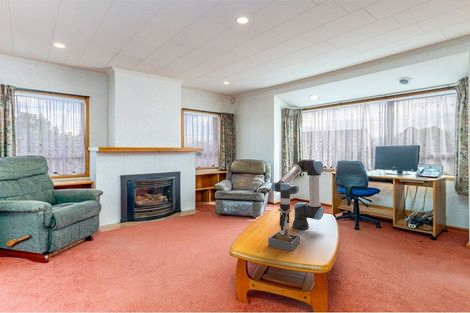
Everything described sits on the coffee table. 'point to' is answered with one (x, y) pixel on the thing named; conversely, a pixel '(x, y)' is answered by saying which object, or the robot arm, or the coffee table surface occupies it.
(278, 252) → the coffee table surface
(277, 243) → the walled bin
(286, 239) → the candle holder
